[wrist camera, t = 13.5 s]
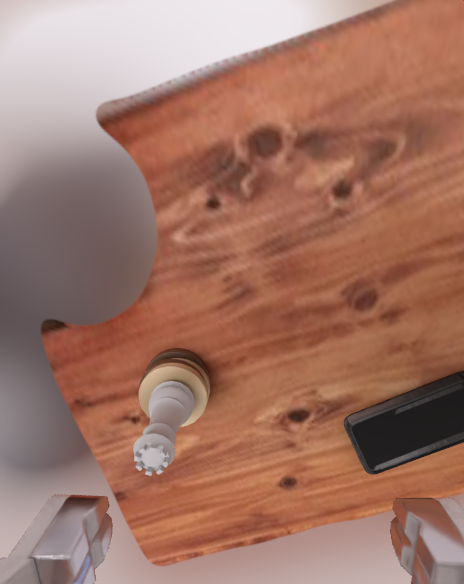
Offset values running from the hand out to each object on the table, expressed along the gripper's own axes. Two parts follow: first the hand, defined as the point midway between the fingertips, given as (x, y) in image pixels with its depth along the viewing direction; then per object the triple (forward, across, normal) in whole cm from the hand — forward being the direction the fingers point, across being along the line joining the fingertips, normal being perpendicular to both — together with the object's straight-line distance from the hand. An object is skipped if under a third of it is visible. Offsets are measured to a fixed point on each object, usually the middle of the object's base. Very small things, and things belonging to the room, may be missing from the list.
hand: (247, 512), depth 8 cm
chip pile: (+23, +8, +9) cm, 26 cm away
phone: (+23, -19, +15) cm, 34 cm away
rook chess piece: (+19, +8, +9) cm, 23 cm away
